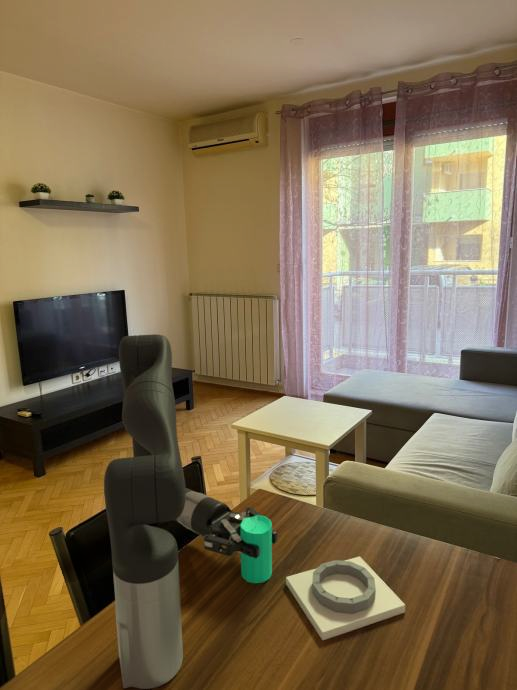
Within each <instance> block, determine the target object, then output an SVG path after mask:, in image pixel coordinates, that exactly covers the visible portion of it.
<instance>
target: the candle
mask: <svg viewBox="0 0 517 690" xmlns="http://www.w3.org/2000/svg"><path fill="white" fill-rule="evenodd" d="M272 530H273V523H272V521H271V519H270V518H268V517H266V516H265V515H262V516H260V515H257V516H253V517H250V518H245V519H243V521H242V522H241V524H240V534H241V535H240V537H241V539H242V540H243V541H245V542H246V543H249V544H254V545H257V546H258V547H259V554H260V555H259V557H257V558H254V557H250V556H248V555H246V554H244V553H242V552H240V573H241V577H242V578H243V580H245V581H246V582H247V583H251V584H259V583H262V584H263V583H265V582H266V581H268V580H270V579H271V577H272V574H273V543H272Z"/></svg>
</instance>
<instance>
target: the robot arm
mask: <svg viewBox="0 0 517 690" xmlns="http://www.w3.org/2000/svg"><path fill="white" fill-rule="evenodd" d="M118 362H119V368H120V369H119V370H120V376H121V382H122V387H123V393H124V394H123V395H124V396H123V398H122V399H123V400H122V411H121V420H122V424H123V426H124V429H125V431H126V432H127V434H129V435H130V437H131V438H132V439H131V441H132V453H133V454H132V455H133V456H130V457H128V456H127V457H120V458H115V459H113V460H111V461H110V462H109V463H108V464H107V466H106V468H105V472H104V478H103V494H104V495H103V496H104V503H105V504H104V505H105V511H106V518H107V524H108V531H109V539H110V548H111V549H110V550H111V561H112V563H111V565H112V571H113V572H112V573H113V574H112V575H113V585H114V586H113V587H114V600H115V604H114V608H115V609H114V610H115V621H116V622H115V623H116V633H117V646H118V649H117V650H118V657H119V665H120V667H119V668H120V674H121V681H122V688H123V689H127V688H136V689H142V690H143V689H144V690H145V689H146V690H147V689H154V688H158V687H161V686H163V685H165V684H167V683H168V682H170V681H171V680H172V679H173V678H174V677H175V676H176V675H177V674H178V672H179V670H180V669H181V668H182V665H183V662H184V661H183V659H184V656H183V655H184V654H183V653H184V652H183V651H184V648H183V647H184V645H183V633H182V631H183V629H182V613H181V612H182V611H181V610H182V608H181V590H180V587H181V586H180V572H179V571H180V570H179V569H180V568H179V550H178V549H179V548H178V543H177V540H176V538H175V537H174V535H173V534H172V533H170V532H169V531H168V530H166V529H164V528H160V527H157V526H153V524H158V523H166V522H167V523H168V522H171V521H175V522H177V523H179V524H181V525H182V526H183V527H185V529H188V530H190V531H191V532H193V533H195V534H197V535H199V536H201V537H203V547H204V549H205V550H207V551H210V552H213V553H217V554H221V555H223V556H227V557H232V556H233V554H234V553H240V554H241V552H242V553H244V554H246V555H248V556H250V557H254V558H257V557H259V555H260V554H259V547H258V546H257V545H254V544H249V543H246V542H245V541H243V540H242V539H241V534H240V524H241V522H242V521H243V519H245V518H250V517H253V516H257V515H260V516H263V515H262V514H261V513H259V512H258V511H257V510H255V509H254V508H252V507H251V506H247V507H245V511H244V512H239V511H232V510H231V508H230V507H229V506H228V504H226V503H224V502H222V501H220V500H218V499H215V498H213V497H211V496H209V495H206V494H205V493H202V492H197V491H194V490H193V489H190V488H187V487H186V480H185V474H184V467H183V463H182V457H181V452H180V448H179V440H178V434H177V433H178V432H177V431H178V429H177V411H176V410H177V409H176V400H175V394H174V387H173V379H172V375H173V373H172V371H173V370H172V369H173V351H172V347H171V343H170V341H169V339H168V338H167V337H166V336H165V335H161V334H139V335H126V336H123V337H122V338H120V341H119V346H118ZM277 542H278V533H277V531H276V530H275V529H272V545H274V544H276V543H277ZM223 546H225V547H223Z"/></svg>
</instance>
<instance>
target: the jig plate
mask: <svg viewBox="0 0 517 690" xmlns="http://www.w3.org/2000/svg"><path fill="white" fill-rule="evenodd" d="M285 584H286V587H288V590H289V591H290V593H291V594H292V595H293V597H294V598H295V600H296V602H297V603H298V605H299V607H300V608H301V610H303V611H302V612H304V614H305V616H306V617H307V619H308V620H309V622H310V623H311V625H312V626H313V628H314V630H315V631H316V633H317V634H318V636H319V637H320V639H321V640H322V641H324V640H328V639H331V638H334V637H337V636H340V635H343V634H346V633H348V632H352V631H354V630H355V631H356V630H358V629H360V628H363V627H366V626H369V625H371V624H375V623H378V622H381V621H384V620H386V619H390V618H392V617H396V616H399V615H401V614H404V613H405V612H406V604H405V603H404V602H403V601H402V600H401V599H400V597H399V596H398V595H397V594H396V593H395V592H394V591H393V590H392V589H391V588H390V586H388V584H386V583H385V582H384V581H383V579H382V578H381V577H380V576H379V575H378V574H377V573H376V572H375V571H374V570H373V568H371V567H370V565H369V564H368V563H366V561H365V560H364V559H363V558H362V557H361V555H360V556H356V557H353V558H349V559H345V560H337V559H334V560H331V561H327V562H324V563H321V564H320V565H319V566H318V567H317V568H313V569H309V570H305V571H302V572H299V573H295V574H292V575H289V576H286V577H285Z"/></svg>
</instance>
